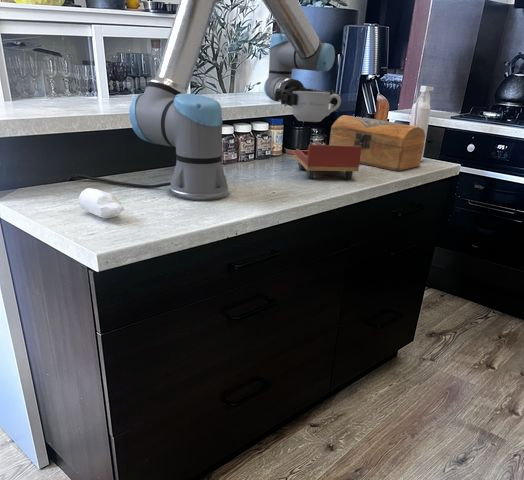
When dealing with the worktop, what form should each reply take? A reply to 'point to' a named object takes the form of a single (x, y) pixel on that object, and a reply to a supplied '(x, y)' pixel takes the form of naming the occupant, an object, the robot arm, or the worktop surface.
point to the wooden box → (380, 141)
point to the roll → (100, 203)
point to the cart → (329, 159)
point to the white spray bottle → (422, 111)
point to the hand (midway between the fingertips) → (317, 99)
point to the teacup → (313, 105)
